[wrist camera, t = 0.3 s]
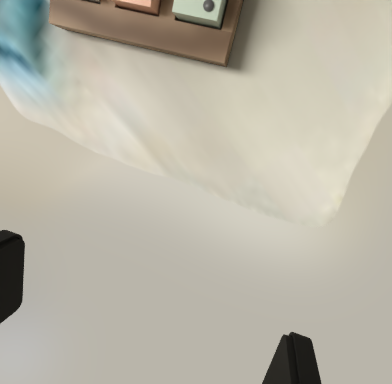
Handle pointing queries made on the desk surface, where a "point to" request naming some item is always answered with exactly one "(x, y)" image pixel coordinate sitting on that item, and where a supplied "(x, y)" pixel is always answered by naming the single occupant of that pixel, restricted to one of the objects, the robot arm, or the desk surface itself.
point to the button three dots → (200, 12)
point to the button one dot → (96, 0)
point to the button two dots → (140, 5)
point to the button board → (149, 28)
